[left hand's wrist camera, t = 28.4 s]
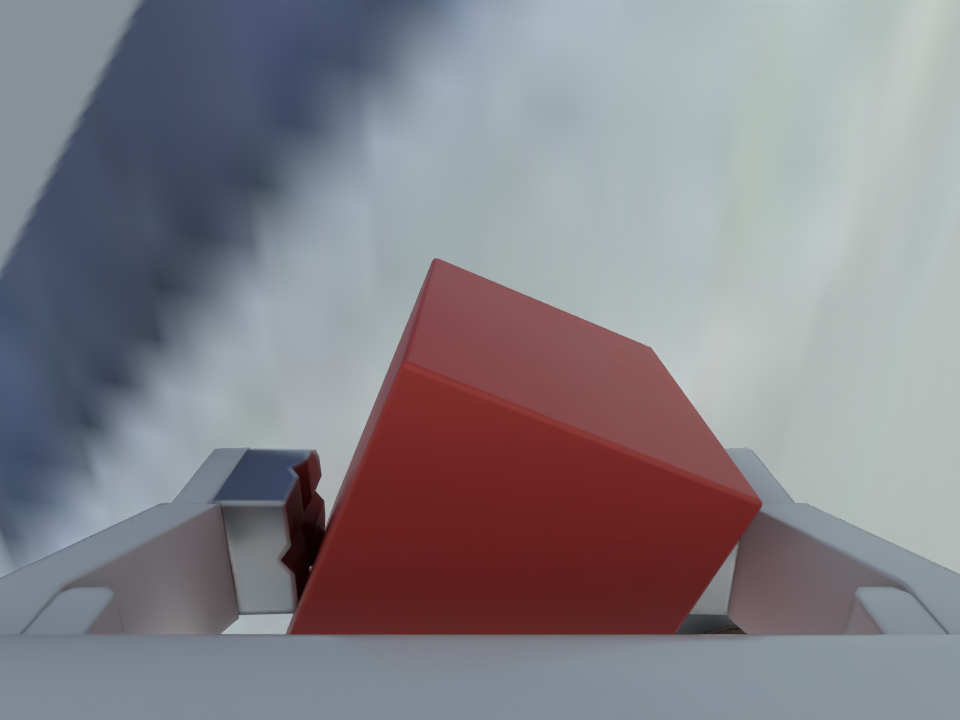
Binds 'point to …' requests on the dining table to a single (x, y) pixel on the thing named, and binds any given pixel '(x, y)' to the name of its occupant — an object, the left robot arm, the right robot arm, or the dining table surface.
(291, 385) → the dining table surface
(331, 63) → the dining table surface
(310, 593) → the block
